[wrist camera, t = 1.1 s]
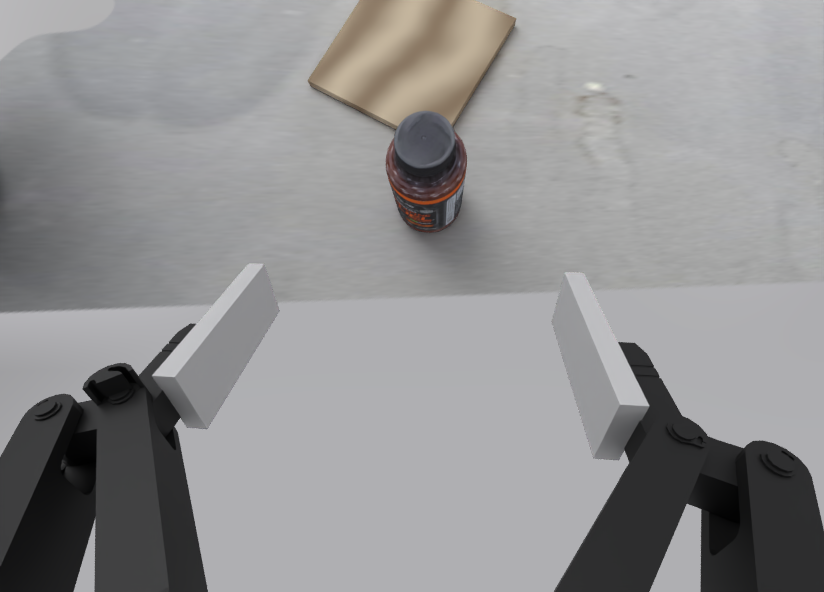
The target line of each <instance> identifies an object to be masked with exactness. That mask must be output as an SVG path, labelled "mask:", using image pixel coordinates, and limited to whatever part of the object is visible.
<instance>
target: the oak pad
mask: <svg viewBox="0 0 824 592" xmlns="http://www.w3.org/2000/svg"><path fill="white" fill-rule="evenodd" d="M515 22H516V18H514V17H512V16H509V15H507V14H505V13H503V12H500V11H498V10H496V9H493V8H491V7H489V6H487V5H484V4H482V3H480V2H477V1H475V0H360V1H359V2H358V4H357V5H356V7H355V9H354V10H353V12H352V13H351V15H350V16H349V18H348V19H347V21H346V22H345V24H344V25H343V27H342V29H341V30H340V32H339V33H338V35H337V36H336V38H335V39H334V41H333V42H332V44H331V45H330V47H329V48H328V50H327V52H326V53H325V55H324V56H323V58H322V59H321V61H320V62H319V64H318V65H317V67H316V68H315V70H314V71H313V73H312V75H311V76H310V78H309V79H308V82H309V84H310V86H311V87H313V88H315V89H317V90H319V91H321V92H323V93H325V94H327V95H329V96H331V97H333V98H335V99H337V100H339V101H341V102H343V103H345V104H347V105H349V106H351V107H353V108H355V109H357V110H359V111H360V112H362V113H364V114H366V115H368V116H370V117H372V118H374V119H376V120H378V121H380V122H382V123H384V124H386V125H388V126H390V127H392V128H394V129H397V127H398V126H399V124H400V123H401V122H402V121H403V120H404V119H405V118H406V117H407V116H409V115H411V114H413V113H415V112H419V111H432V112H437V113H439V114H440V115H442V116H444V117H445V118H446V119H447V120H448V121H449V122H450V124H451V126H452V127H453V126H454V124H455V123H456V121H457V119H458V118H459V116H460V114H461V113H462V111H463V109H464V108H465V106H466V104H467V103H468V101H469V100H470V98H471V96H472V95H473V93H474V91H475V90H476V88H477V86H478V85H479V83H480V82H481V80H482V78H483V77H484V75H485V73H486V72H487V70H488V68H489V67H490V65H491V63H492V62H493V60H494V59H495V57H496V55H497V54H498V52H499V50H500V49H501V47H502V45H503V44H504V42H505V40H506V39H507V37H508V36H509V34H510V32H511V31H512V29H513V27H514V26H515Z"/></svg>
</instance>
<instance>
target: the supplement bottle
mask: <svg viewBox="0 0 824 592" xmlns="http://www.w3.org/2000/svg"><path fill="white" fill-rule="evenodd" d="M466 166H467V155H466V149H465V147H464V144H463V142H462V140H461V138H460V137H459V136H458V135H457V134H456V133H455V132H454V130H453V127H452V126H451V124H450V122H449V121H448V120H447V119H446V118H445V117H444V116H442V115H440V114H439V113H437V112H432V111H419V112H415V113H413V114H411V115H409V116H407V117H406V118H405V119H404V120H403V121H402V122H401V123H400V124H399V126H398V127H397V129H396V132H395V135H394V138H393V140H392V142H391V143H390V146H389V148H388V151H387V155H386V171H387V175H388V179H389V182H390V185H391V188H392V191H393V194H394V197H395V201H396V204H397V207H398V210H399V212H400V215H401V217H402V218H403V220H404V221H405V222H406V223H407V224H408V225H409V226H410V227H412V228H413V229H415V230H418V231H421V232H438V231H440V230H443V229H444V228H446V227H448V226H449V225H450V224H451V223H452V222H453V221H454V220H455V219H456V217H457V215H458V213H459V210H460V207H461V202H462V194H463V187H464V180H465V174H466Z"/></svg>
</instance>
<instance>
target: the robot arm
mask: <svg viewBox="0 0 824 592" xmlns="http://www.w3.org/2000/svg"><path fill="white" fill-rule="evenodd" d="M279 311H280V310H279V307H278V304H277V301H276V298H275V295H274V292H273V289H272V285H271V282H270V279H269V276H268V273H267V270H266V267H265V264H252V263H248V265H247V266H246V267H245V268H244V269H243V270H242V272H241V273H240V274H239V275H238V276H237V277H236V279H235V280H234V281H233V282H232V283H231V284H230V286H229V287H228V288H227V289H226V290H225V291H224V293H223V294H222V295H221V296H220V297H219V298H218V299H217V301H216V302H215V303H214V304H213V305H212V307H211V308H210V309H209V310H208V311H207V312H206V313H205V315H204V316H203V317H202V318H201V319H200V320H199V322H198V323H197V324H189V325H188V326H186V327H185V328H183V329H182V330H180V331H179V332H178V333H177V334H176V335H175V336H174V337H173V338H172V339H171V340H170V342H169V344H167V345H166V346H165V347H164V348H163V349H162V352H160V353H159V354H158V355H157V356H156V357H155V358H154V359H153V360H152V362H151V363H150V364H149V365H148V366H147V367H146V368H145V369H144V371H143V372H142V373H141V374H140V375H139V376H138V375H137V374H136V372H135V371H134V370H133V368H132V367H131V365H128V364H126V363H118V364H114V365H110V366H107V367H105V368H103V369H101V370H99V371H97V372H96V373H94V374H93V375H92V376H90V377H89V378H88V380H87V381H86V382H85V383H84V386H83V390H84V391H85V392H86V394H87V395H88V396H89V397H90V398H91V399H92V400H91V401H86V402H80V403H77V402H76V400H75V399H74V398H73V397H72V396H71V395H68V394H59V395H55V396H52V397H49V398H46V399H44V400H42V401H40V402H39V403H37V404H36V405H34V406H33V407H32V408H31V409H29V410H28V411H27V413H26V414H25V415H24V417H23V418H22V419H21V421H20V423H19V425H18V427H17V428H16V430H15V432H14V434H13V435H12V437H11V439H10V441H9V442H8V444H7V446H6V448H5V450H4V452H3V453H2V455H1V457H0V592H73V591H74V588H75V584H76V581H77V577H78V574H79V571H80V567H81V564H82V560H83V557H84V554H85V550H86V547H87V544H88V540H89V537H90V534H91V530H92V527H93V523H94V520H95V517H96V529H95V530H96V531H95V534H96V535H95V537H96V538H95V592H208V590H207V585H206V579H205V575H204V569H203V564H202V558H201V553H200V548H199V542H198V537H197V532H196V526H195V521H194V516H193V510H192V505H191V500H190V495H189V489H188V484H187V479H186V473H185V468H184V463H183V459H182V452H181V447H180V442H179V437H178V432H177V430H176V428H175V427H174V426H175V424H176V423H177V422H178V420H179V419H180V418H181V419H182V421H183V422H184V424H185V425H186V427H187V428H199V429H208V427H209V425H210V424H211V422H212V420H213V419H214V417H215V416H216V414H217V412H218V411H219V409H220V407H221V406H222V404H223V403H224V401H225V399H226V398H227V396H228V394H229V393H230V391H231V390H232V388H233V386H234V385H235V383H236V381H237V380H238V378H239V376H240V375H241V373H242V372H243V370H244V368H245V367H246V365H247V363H248V362H249V360H250V359H251V357H252V355H253V353H254V352H255V350H256V349H257V347H258V345H259V344H260V342H261V340H262V339H263V337H264V336H265V334H266V333H267V331H268V329H269V327H270V326H271V324H272V323H273V321H274V319H275V318H276V316H277V314H278V313H279ZM552 325H553V328H554V332H555V335H556V338H557V341H558V345H559V348H560V351H561V354H562V358H563V361H564V364H565V367H566V370H567V374H568V377H569V380H570V384H571V387H572V390H573V393H574V397H575V400H576V403H577V406H578V410H579V413H580V416H581V419H582V423H583V426H584V429H585V432H586V436H587V439H588V442H589V445H590V449H591V452H592V455H593V458H595V459H609V460H619V459H620V457H621V455H622V453H623V452H624V450H625V452H626V455H627V457H628V460H629V465H628V466H627V468H626V469H625V471H624V473H623V474H622V476H621V478H620V480H619V482H618V483H617V485H616V487H615V488H614V490H613V492H612V493H611V495H610V497H609V498H608V500H607V502H606V504H605V505H604V507H603V509H602V510H601V512H600V514H599V515H598V517H597V519H596V521H595V522H594V524H593V526H592V528H591V529H590V531H589V533H588V534H587V536H586V538H585V539H584V541H583V543H582V544H581V546H580V548H579V550H578V551H577V553H576V555H575V556H574V558H573V560H572V562H571V563H570V565H569V567H568V568H567V570H566V572H565V573H564V575H563V577H562V579H561V580H560V582H559V584H558V585H557V587H556V589H555V590H554V592H649V591H650V589H651V586H652V584H653V582H654V579H655V577H656V575H657V572H658V570H659V568H660V565H661V563H662V560H663V558H664V556H665V553H666V551H667V549H668V546H669V544H670V542H671V539H672V537H673V535H674V532H675V530H676V528H677V525H678V523H679V520H680V518H681V516H682V513H683V511H684V509H685V506H686V504H689V505H692V506H695V507H698V508H700V509H702V511H701V513H702V514H701V592H824V530H823V526H822V521H821V516H820V512H819V507H818V503H817V499H816V494H815V490H814V485H813V481H812V477H811V475H810V473H809V471H808V469H807V467H806V466H805V465H804V464H803V463H802V461H801V460H800V459H799V458H798V457H796V456H795V455H793V454H792V453H791V452H789V451H788V450H787V449H784V448H782V447H780V446H778V445H776V444H774V443H770V442H766V441H752V442H751V443H749V444H748V445H746V447H745V448H741V447H738V446H735V445H731V444H728V443H725V442H722V441H719V440H716V439H713V438H710V437H708V436H707V434H706V433H705V432H704V431H703V429H702V428H701V427H700V426H699V425H697V424H696V423H694V422H693V421H691V420H690V419H688V418H685V417H683V416H682V415H681V413H680V412H679V410H678V408H677V406H676V405H675V403H674V401H673V399H672V397H671V395H670V394H669V392H668V390H667V388H666V387H665V385H664V383H663V381H662V380H661V378H659V374H658V372H657V371H656V369H655V368H654V365H653V364H652V362H651V360H650V358H649V356H648V355H647V353H645V352H644V351H643V350H642V349H641V348H640V347H638V345H636V344H635V343H623V342H618V341H617V339H616V337H615V335H614V333H613V331H612V330H611V327H610V325H609V323H608V321H607V319H606V317H605V315H604V313H603V311H602V309H601V307H600V305H599V303H598V301H597V299H596V297H595V295H594V293H593V291H592V289H591V287H590V285H589V283H588V281H587V278H586V276H585V274H584V273H579V272H564V276H563V280H562V284H561V288H560V292H559V296H558V299H557V303H556V307H555V311H554V315H553V319H552Z"/></svg>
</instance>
